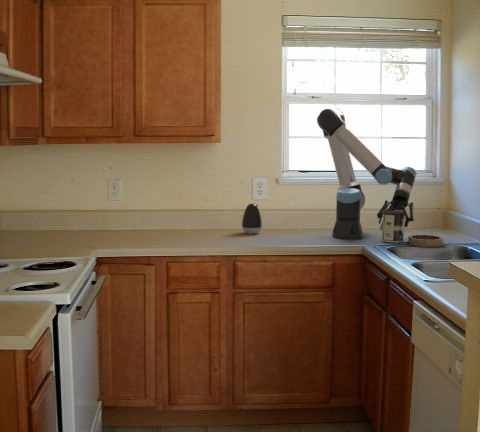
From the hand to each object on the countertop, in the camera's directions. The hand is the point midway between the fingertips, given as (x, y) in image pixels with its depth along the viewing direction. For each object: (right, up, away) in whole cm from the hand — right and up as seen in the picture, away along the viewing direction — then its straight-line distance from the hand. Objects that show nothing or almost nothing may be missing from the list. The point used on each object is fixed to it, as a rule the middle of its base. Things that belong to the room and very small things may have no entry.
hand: (391, 230), depth 315 cm
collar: (+15, -6, -4) cm, 17 cm away
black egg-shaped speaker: (-65, -2, +24) cm, 69 cm away
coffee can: (+1, -5, +3) cm, 6 cm away
